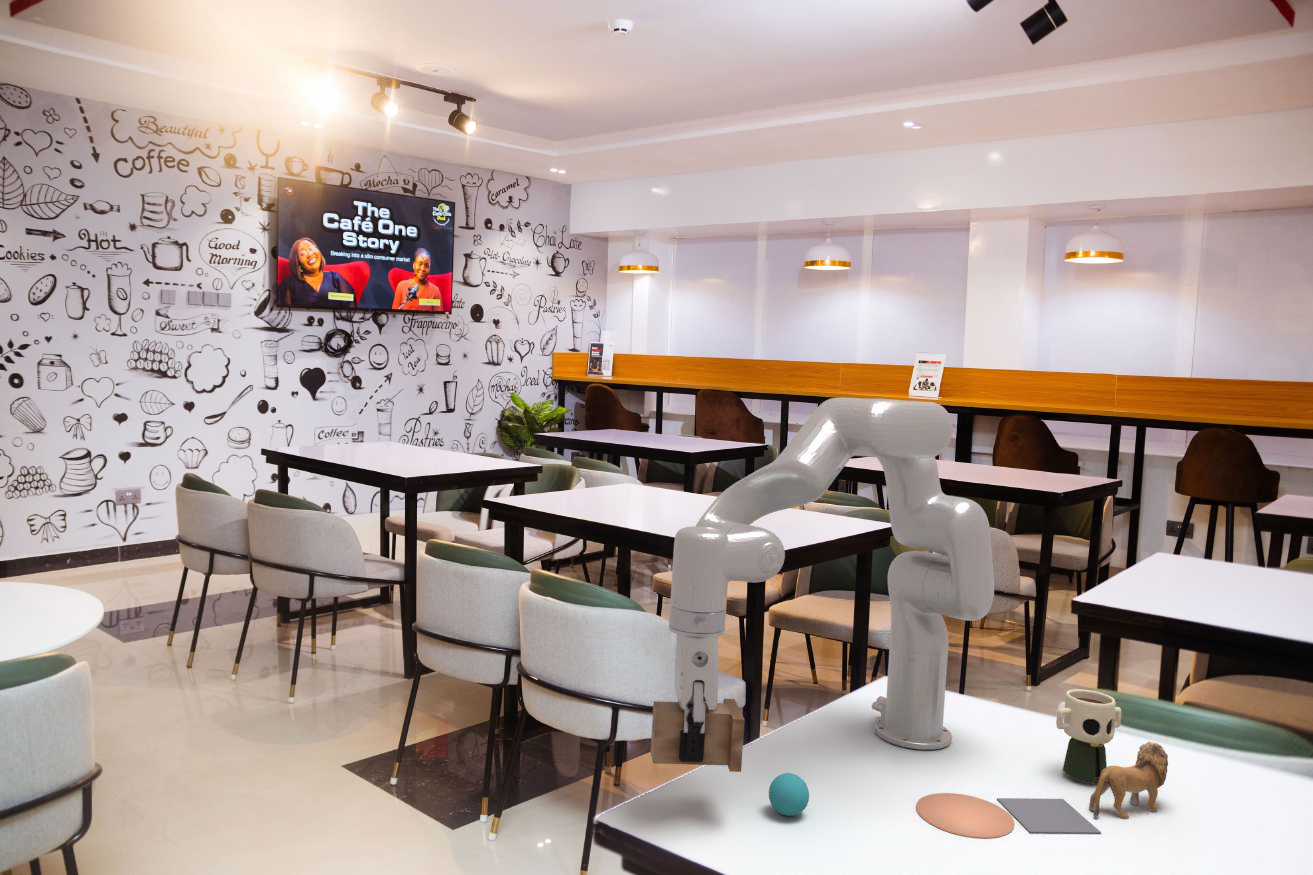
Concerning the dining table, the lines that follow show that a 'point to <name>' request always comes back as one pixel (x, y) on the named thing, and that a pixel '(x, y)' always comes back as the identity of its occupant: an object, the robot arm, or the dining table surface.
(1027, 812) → the far square
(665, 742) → the t-shaped block
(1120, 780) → the lion figurine
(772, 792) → the ball
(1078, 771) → the character mug
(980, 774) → the dining table surface
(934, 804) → the disc
